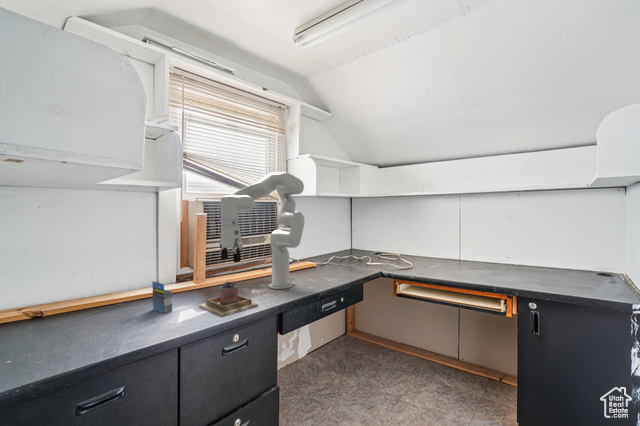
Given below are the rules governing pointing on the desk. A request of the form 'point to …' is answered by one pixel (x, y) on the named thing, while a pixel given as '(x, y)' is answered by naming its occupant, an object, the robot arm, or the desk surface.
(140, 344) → the desk surface
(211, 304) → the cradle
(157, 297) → the label tape cartridge
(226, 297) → the reddish brown box
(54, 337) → the desk surface
